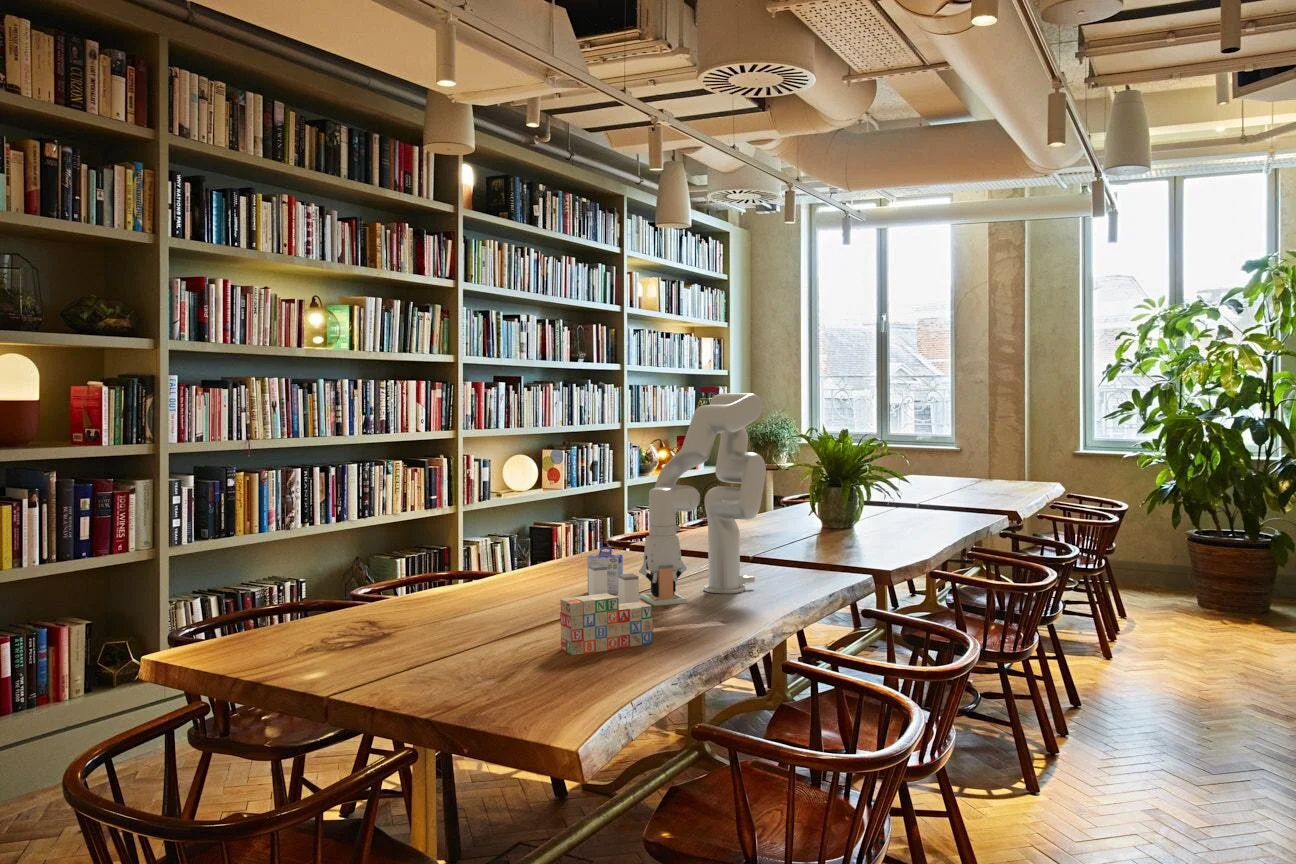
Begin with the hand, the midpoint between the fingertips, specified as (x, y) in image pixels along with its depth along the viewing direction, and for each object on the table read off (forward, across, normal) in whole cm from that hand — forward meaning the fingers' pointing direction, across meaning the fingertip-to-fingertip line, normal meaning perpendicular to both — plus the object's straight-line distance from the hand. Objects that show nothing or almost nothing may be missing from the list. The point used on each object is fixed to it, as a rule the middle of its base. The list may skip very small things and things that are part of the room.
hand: (663, 594), depth 287 cm
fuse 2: (+2, +14, +9) cm, 16 cm away
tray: (+3, 0, 0) cm, 3 cm away
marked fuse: (+1, 0, 0) cm, 1 cm away
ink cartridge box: (+3, +11, -19) cm, 22 cm away
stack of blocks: (+3, +30, +40) cm, 50 cm away
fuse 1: (+2, +17, -9) cm, 19 cm away
